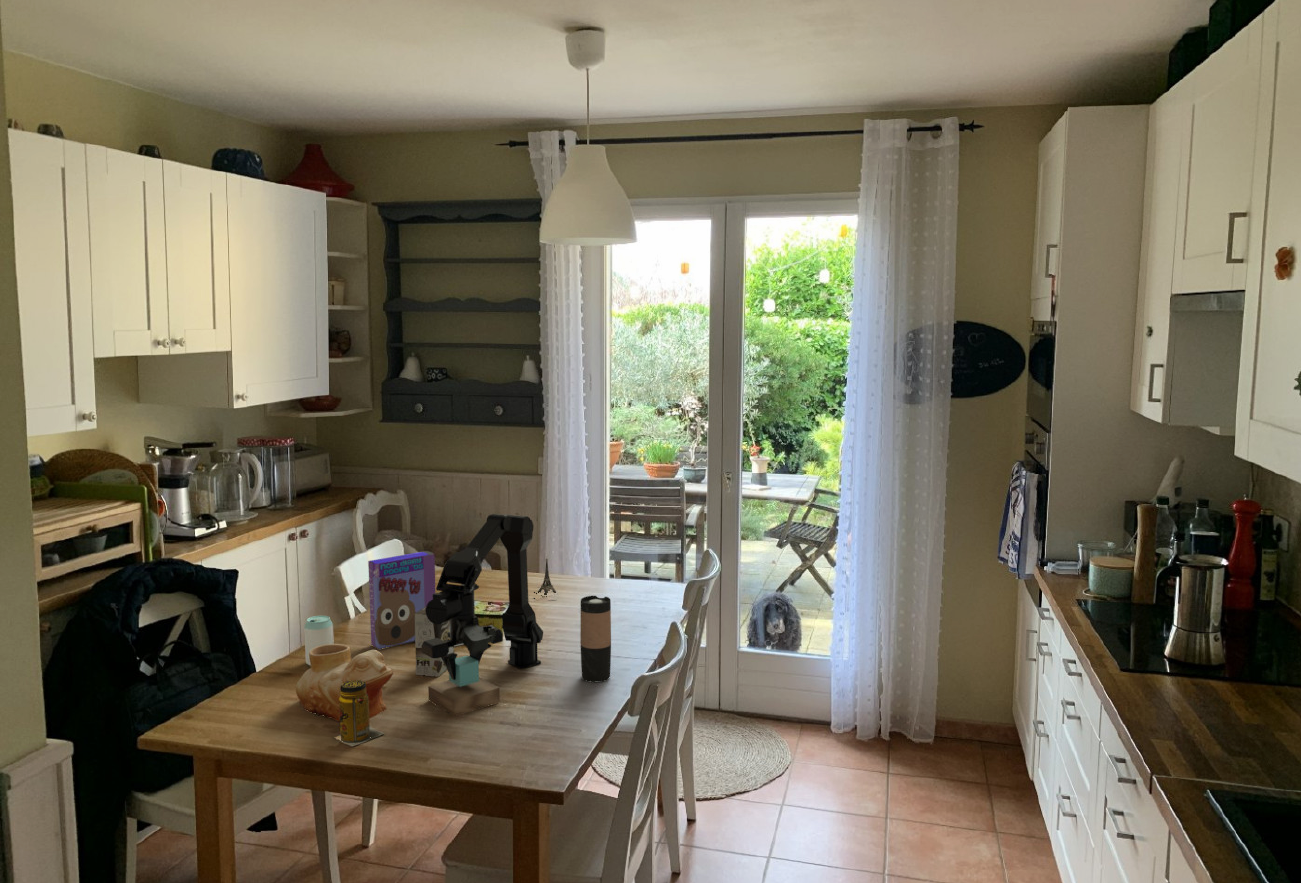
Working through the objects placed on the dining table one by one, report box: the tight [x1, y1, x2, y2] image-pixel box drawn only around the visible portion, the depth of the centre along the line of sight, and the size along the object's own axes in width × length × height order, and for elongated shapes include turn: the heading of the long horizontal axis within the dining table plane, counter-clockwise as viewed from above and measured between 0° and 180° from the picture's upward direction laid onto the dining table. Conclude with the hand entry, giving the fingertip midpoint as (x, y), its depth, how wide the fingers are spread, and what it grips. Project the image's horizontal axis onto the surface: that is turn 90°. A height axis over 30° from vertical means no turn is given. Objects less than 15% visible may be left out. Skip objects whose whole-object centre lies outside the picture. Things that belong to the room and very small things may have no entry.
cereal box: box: [367, 550, 436, 650], centre depth 272 cm, size 17×5×24 cm, turn 131°
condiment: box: [337, 680, 386, 747], centre depth 211 cm, size 7×8×12 cm
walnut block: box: [427, 676, 501, 717], centre depth 231 cm, size 12×12×4 cm
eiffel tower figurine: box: [537, 557, 557, 595], centre depth 320 cm, size 15×10×13 cm
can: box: [303, 615, 335, 667], centre depth 255 cm, size 7×7×12 cm
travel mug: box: [579, 595, 612, 683], centre depth 245 cm, size 8×8×20 cm
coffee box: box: [414, 607, 450, 678], centre depth 250 cm, size 9×6×16 cm
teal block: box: [448, 655, 480, 687], centre depth 230 cm, size 5×5×5 cm
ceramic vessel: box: [295, 643, 394, 723], centre depth 225 cm, size 14×26×15 cm, turn 58°
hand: (463, 676), depth 230 cm, fingers closed on teal block, 5 cm apart
